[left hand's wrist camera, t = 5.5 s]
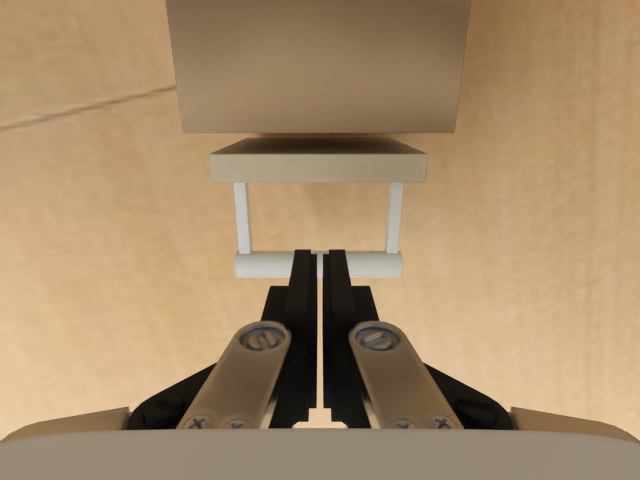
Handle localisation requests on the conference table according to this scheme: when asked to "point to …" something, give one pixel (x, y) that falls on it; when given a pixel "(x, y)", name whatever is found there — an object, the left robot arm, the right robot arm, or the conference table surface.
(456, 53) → the cabinet
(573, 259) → the conference table surface
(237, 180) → the drawer
